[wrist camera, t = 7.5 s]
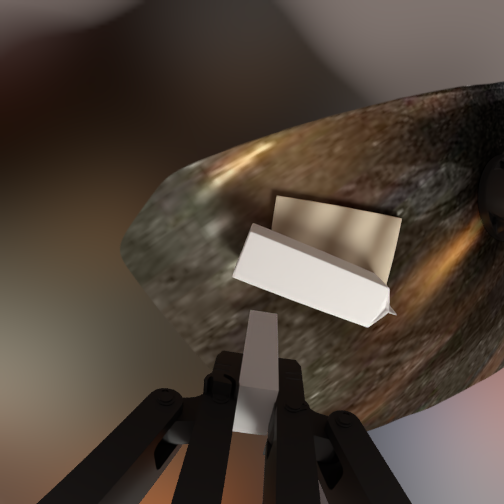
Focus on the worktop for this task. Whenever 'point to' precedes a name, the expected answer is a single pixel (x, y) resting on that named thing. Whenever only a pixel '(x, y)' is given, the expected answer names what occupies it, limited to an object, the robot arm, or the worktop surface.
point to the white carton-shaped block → (311, 277)
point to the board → (340, 232)
